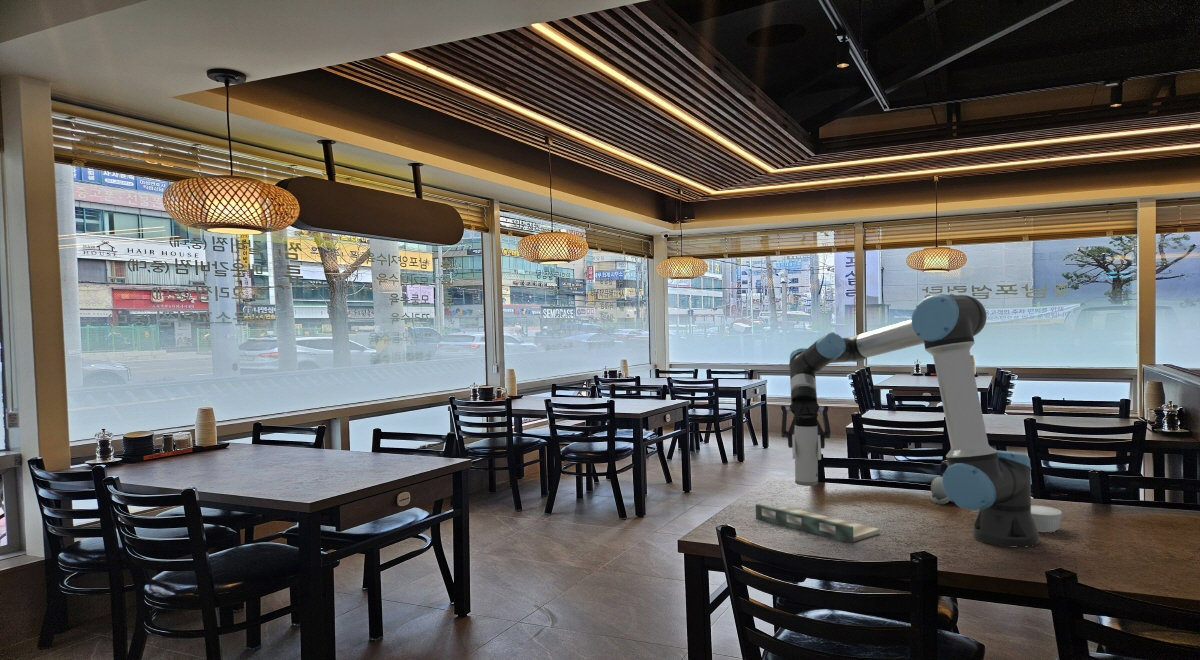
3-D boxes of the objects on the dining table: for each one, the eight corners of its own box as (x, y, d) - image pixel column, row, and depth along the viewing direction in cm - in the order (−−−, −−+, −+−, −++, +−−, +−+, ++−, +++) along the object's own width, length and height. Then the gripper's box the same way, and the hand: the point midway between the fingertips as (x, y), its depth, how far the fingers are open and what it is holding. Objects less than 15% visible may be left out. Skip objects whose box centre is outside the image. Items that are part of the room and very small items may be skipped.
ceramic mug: (941, 496, 239) (940, 472, 238) (966, 500, 232) (965, 476, 232) (924, 502, 232) (923, 478, 232) (950, 507, 226) (949, 482, 225)
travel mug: (823, 485, 207) (822, 414, 207) (802, 486, 205) (802, 415, 205) (811, 480, 213) (810, 411, 213) (790, 482, 211) (790, 412, 211)
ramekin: (1015, 521, 208) (1015, 502, 208) (1061, 526, 203) (1061, 507, 203) (1014, 531, 199) (1014, 511, 199) (1063, 536, 193) (1062, 516, 193)
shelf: (879, 533, 199) (879, 518, 199) (850, 542, 191) (850, 527, 191) (784, 510, 224) (784, 497, 224) (755, 518, 216) (755, 504, 216)
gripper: (836, 400, 222) (842, 465, 206) (770, 400, 226) (771, 463, 210) (837, 384, 216) (843, 449, 201) (770, 384, 221) (771, 448, 205)
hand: (806, 456), depth 206 cm, fingers closed on travel mug, 6 cm apart
